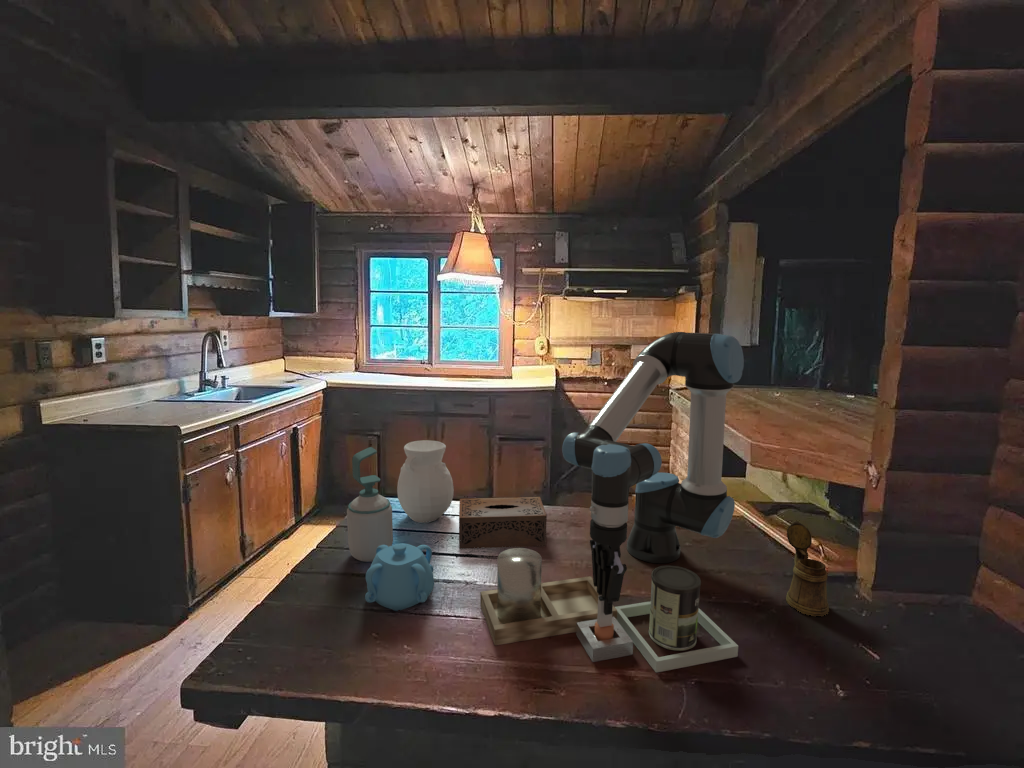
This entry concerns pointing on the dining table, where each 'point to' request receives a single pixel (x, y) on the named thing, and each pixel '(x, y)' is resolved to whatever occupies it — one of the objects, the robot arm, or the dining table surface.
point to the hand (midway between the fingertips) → (604, 624)
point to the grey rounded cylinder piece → (518, 585)
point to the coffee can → (674, 607)
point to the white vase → (425, 481)
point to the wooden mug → (806, 575)
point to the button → (604, 632)
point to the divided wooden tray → (546, 611)
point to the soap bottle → (368, 515)
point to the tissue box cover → (502, 522)
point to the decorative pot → (400, 576)
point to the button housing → (604, 641)
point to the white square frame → (681, 659)
